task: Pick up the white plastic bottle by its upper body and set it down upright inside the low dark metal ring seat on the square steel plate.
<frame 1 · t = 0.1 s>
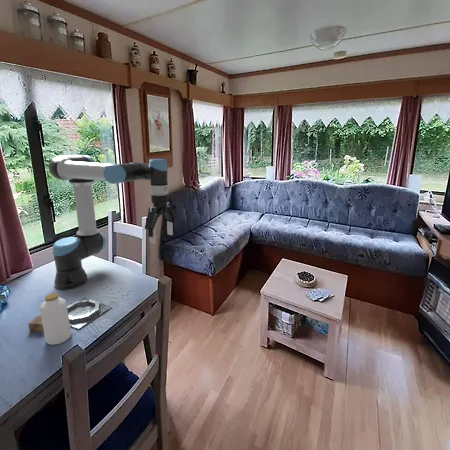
hand: (161, 238, 129), 28 cm above the table, fingers open, 13 cm apart
ring seat: (81, 313, 119), on the table
white plastic bottle: (59, 338, 103), on the table
walnut block: (40, 328, 109), on the table
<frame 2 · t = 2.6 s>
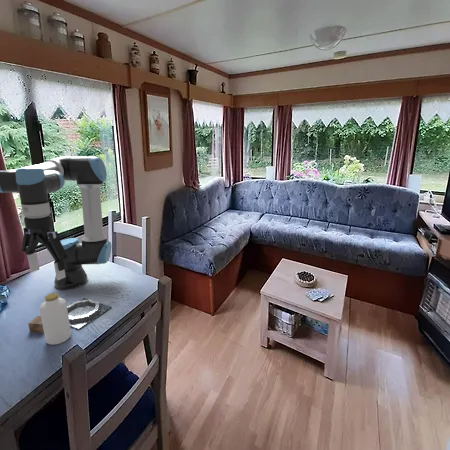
hand: (47, 274, 96), 26 cm above the table, fingers open, 13 cm apart
nothing on the table moved.
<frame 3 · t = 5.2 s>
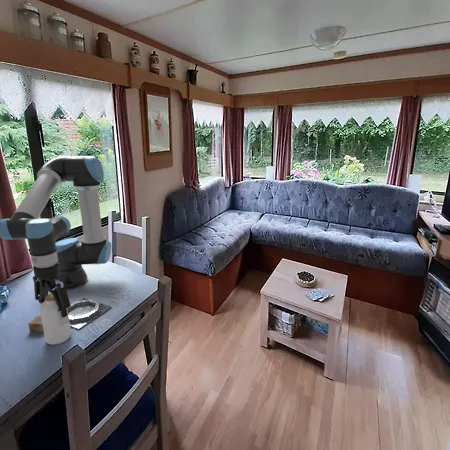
hand: (55, 320, 101), 8 cm above the table, fingers closed on white plastic bottle, 8 cm apart
white plastic bottle: (59, 338, 103), on the table, touching gripper
everything else where it was.
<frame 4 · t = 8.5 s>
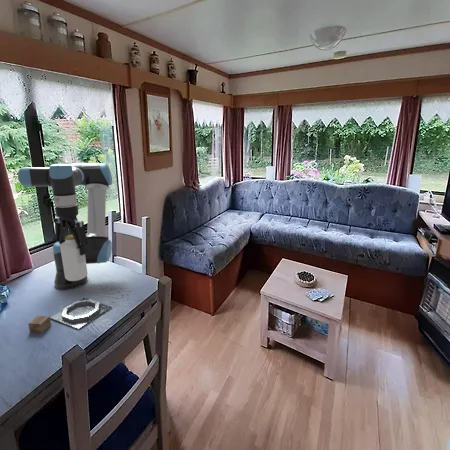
hand: (74, 260, 112), 25 cm above the table, fingers closed on white plastic bottle, 8 cm apart
white plastic bottle: (76, 277, 114), point 17 cm above the table, touching gripper
everything else where it was.
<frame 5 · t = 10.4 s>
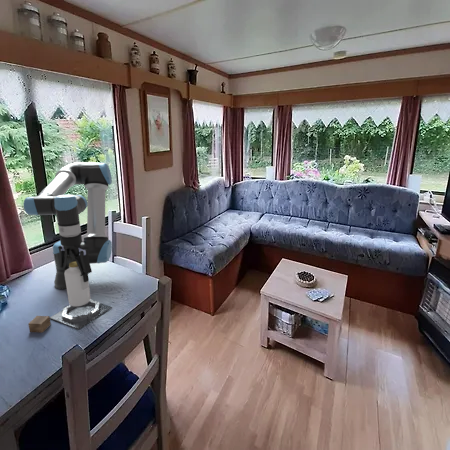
hand: (77, 285, 115), 13 cm above the table, fingers closed on white plastic bottle, 8 cm apart
white plastic bottle: (80, 302, 117), point 5 cm above the table, touching gripper
everything else where it was.
when the fingers open (11 cm above the table, at t = 12.2 s): white plastic bottle drops 2 cm, resting on ring seat.
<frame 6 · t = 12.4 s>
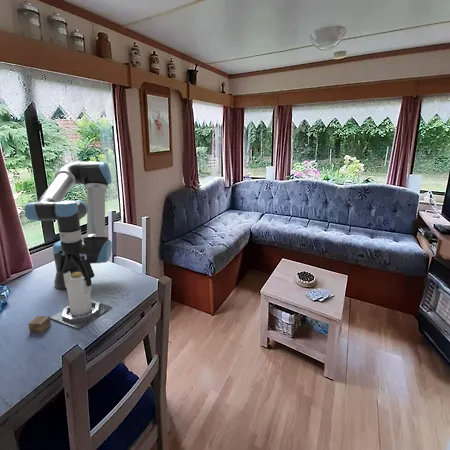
hand: (78, 289, 115), 11 cm above the table, fingers open, 11 cm apart
white plastic bottle: (81, 312, 118), resting on ring seat
everything else where it was.
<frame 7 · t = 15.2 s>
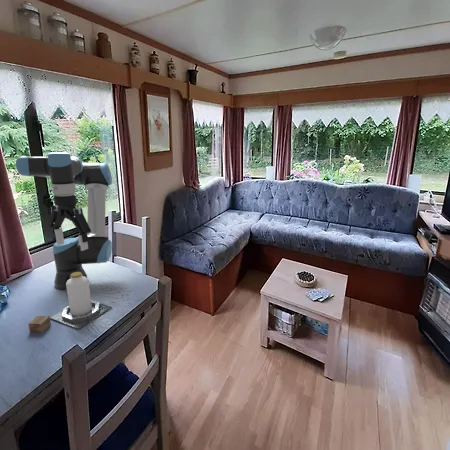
hand: (72, 246, 110), 31 cm above the table, fingers open, 13 cm apart
nothing on the table moved.
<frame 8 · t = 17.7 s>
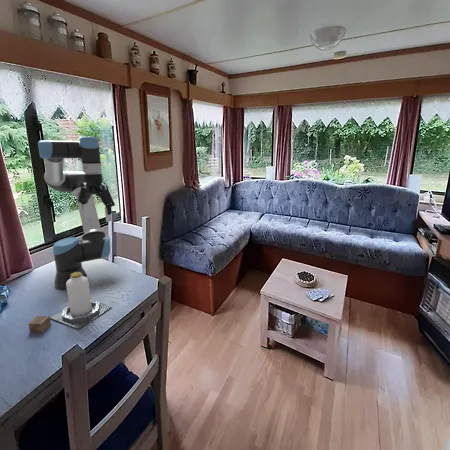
hand: (97, 219, 127), 37 cm above the table, fingers open, 13 cm apart
nothing on the table moved.
at the end: white plastic bottle 0.1 cm from the ring seat (horizontally); white plastic bottle tilted 0°; white plastic bottle resting on ring seat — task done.
